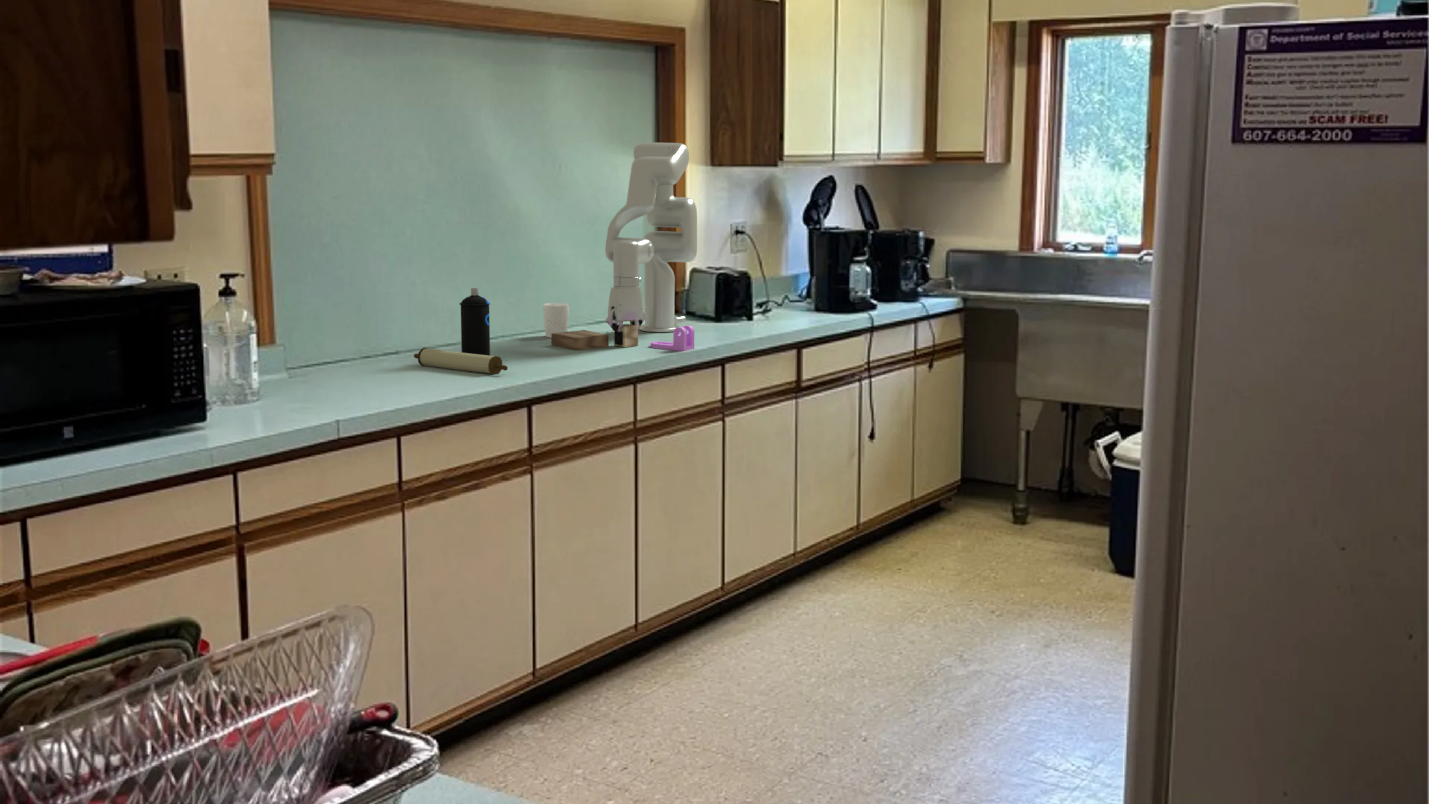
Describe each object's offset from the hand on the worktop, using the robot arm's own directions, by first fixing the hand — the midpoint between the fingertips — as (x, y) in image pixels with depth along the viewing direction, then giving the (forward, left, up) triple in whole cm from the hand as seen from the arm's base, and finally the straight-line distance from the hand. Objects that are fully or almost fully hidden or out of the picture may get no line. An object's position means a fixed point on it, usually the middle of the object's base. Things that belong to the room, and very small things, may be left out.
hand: (626, 343), depth 407 cm
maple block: (0, 0, -1) cm, 1 cm away
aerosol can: (+50, -3, -1) cm, 50 cm away
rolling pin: (+62, +7, -1) cm, 62 cm away
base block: (+11, -8, -1) cm, 14 cm away
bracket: (-8, +11, -1) cm, 14 cm away
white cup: (+5, -28, -1) cm, 28 cm away
